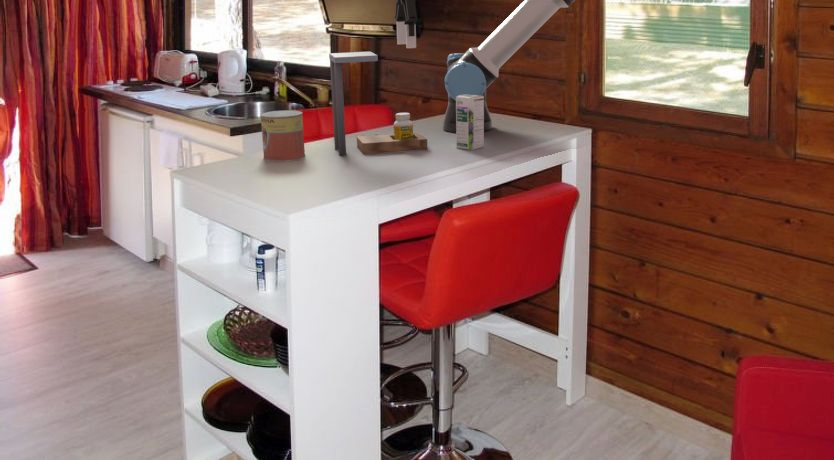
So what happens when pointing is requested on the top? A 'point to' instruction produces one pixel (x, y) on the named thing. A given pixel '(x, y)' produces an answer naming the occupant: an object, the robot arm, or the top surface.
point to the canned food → (282, 135)
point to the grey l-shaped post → (337, 92)
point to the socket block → (390, 143)
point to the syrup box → (469, 122)
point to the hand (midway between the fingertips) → (406, 46)
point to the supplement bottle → (403, 127)
